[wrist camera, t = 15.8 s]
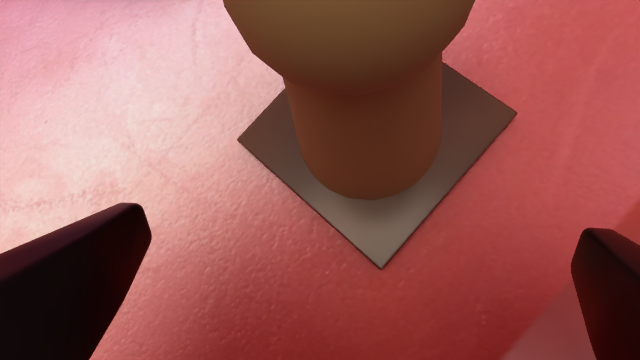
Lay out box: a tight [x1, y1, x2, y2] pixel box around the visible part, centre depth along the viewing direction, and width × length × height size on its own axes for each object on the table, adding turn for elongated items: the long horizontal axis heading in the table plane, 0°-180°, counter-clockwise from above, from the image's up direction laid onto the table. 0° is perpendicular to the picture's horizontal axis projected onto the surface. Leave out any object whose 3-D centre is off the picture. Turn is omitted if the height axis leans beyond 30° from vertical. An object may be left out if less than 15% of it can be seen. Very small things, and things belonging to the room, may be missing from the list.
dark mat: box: [237, 62, 517, 270], centre depth 17 cm, size 8×8×1 cm
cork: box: [223, 0, 475, 200], centre depth 12 cm, size 6×6×11 cm
